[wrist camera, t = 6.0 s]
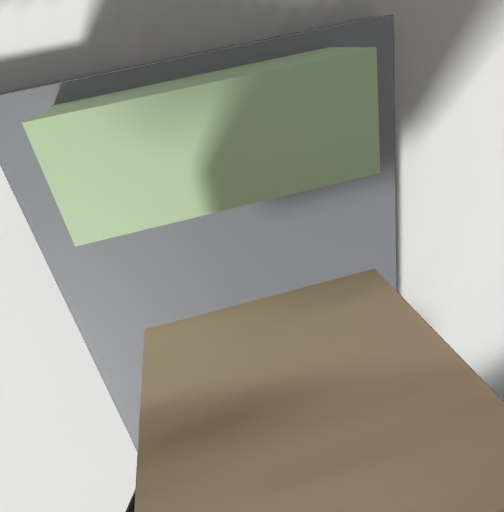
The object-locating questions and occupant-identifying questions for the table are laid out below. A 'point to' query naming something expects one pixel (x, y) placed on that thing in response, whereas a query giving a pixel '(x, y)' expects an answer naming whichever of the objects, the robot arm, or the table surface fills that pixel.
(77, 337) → the table surface
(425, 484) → the housing
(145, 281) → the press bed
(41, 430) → the table surface
